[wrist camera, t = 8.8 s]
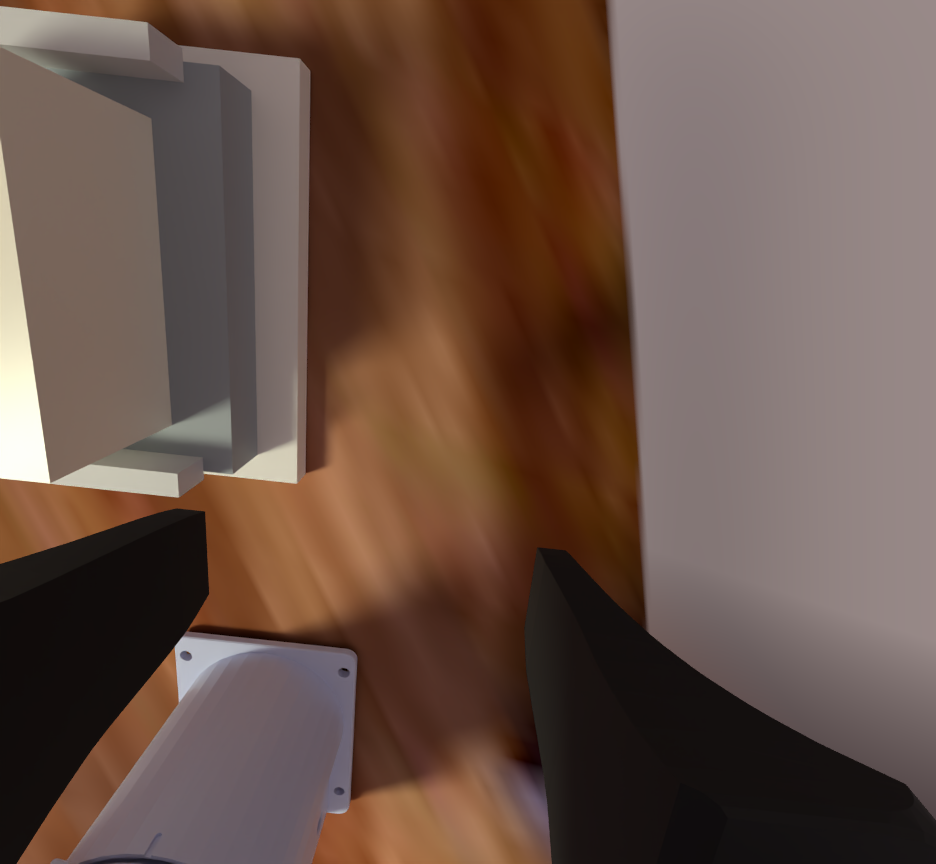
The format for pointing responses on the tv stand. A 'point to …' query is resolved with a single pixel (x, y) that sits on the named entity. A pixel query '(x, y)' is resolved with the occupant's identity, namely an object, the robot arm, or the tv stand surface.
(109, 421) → the cream rectangular box
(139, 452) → the display stand
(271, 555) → the tv stand surface
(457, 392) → the tv stand surface
